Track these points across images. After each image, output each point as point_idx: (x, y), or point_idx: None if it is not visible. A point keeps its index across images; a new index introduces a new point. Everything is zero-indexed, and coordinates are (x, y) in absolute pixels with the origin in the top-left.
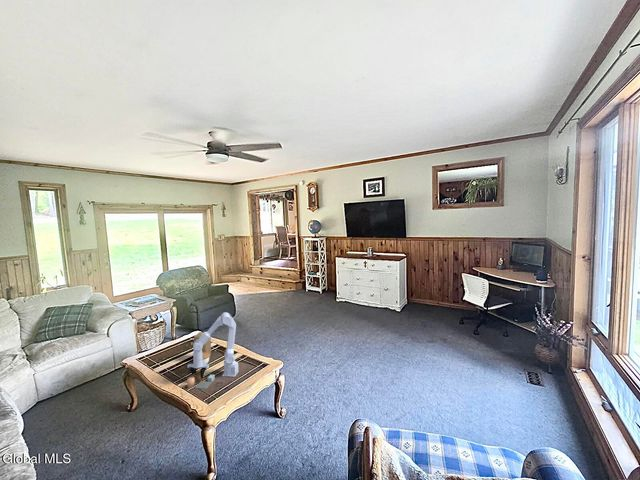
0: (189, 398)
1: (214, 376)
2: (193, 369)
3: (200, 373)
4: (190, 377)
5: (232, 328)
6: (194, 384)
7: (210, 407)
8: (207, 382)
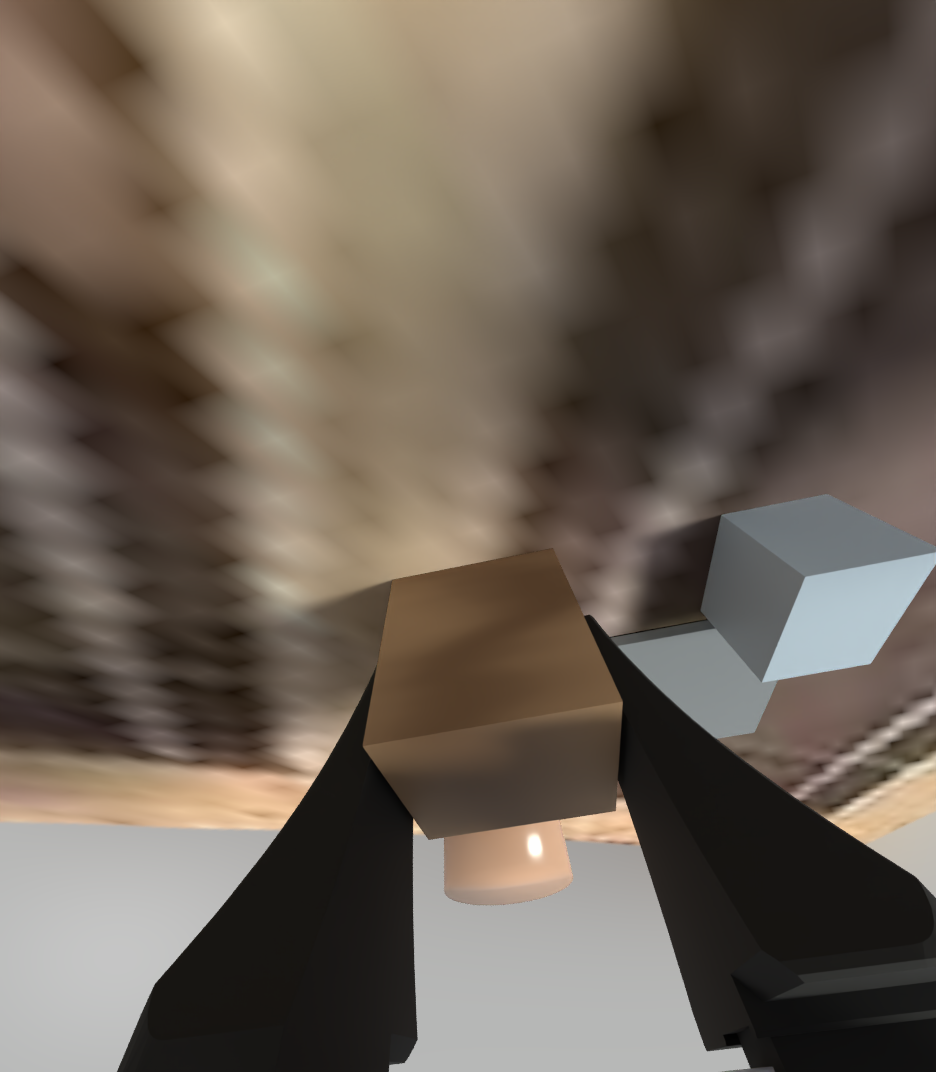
0: (623, 825)
1: (889, 532)
2: (395, 1024)
3: (589, 778)
4: (468, 878)
5: None
6: None
7: (857, 826)
8: (719, 646)
